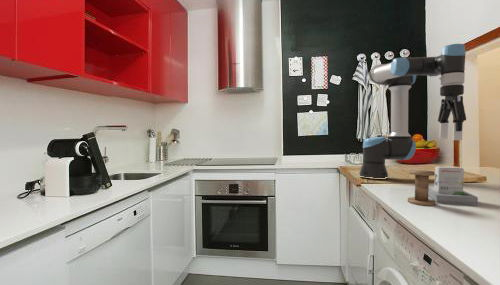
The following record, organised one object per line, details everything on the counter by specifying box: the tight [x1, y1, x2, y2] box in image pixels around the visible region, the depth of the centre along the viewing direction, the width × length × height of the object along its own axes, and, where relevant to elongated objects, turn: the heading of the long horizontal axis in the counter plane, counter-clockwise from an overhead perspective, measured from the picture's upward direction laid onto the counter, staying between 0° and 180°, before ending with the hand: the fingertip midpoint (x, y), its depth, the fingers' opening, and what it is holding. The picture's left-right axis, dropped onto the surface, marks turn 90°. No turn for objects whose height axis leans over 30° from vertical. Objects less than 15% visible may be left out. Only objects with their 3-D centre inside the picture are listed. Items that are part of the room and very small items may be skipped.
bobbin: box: [407, 169, 437, 207], centre depth 106 cm, size 9×9×12 cm
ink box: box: [433, 166, 465, 196], centre depth 111 cm, size 9×5×12 cm, turn 73°
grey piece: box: [428, 187, 479, 206], centre depth 110 cm, size 14×13×3 cm
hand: (450, 139), depth 110 cm, fingers open, 13 cm apart
